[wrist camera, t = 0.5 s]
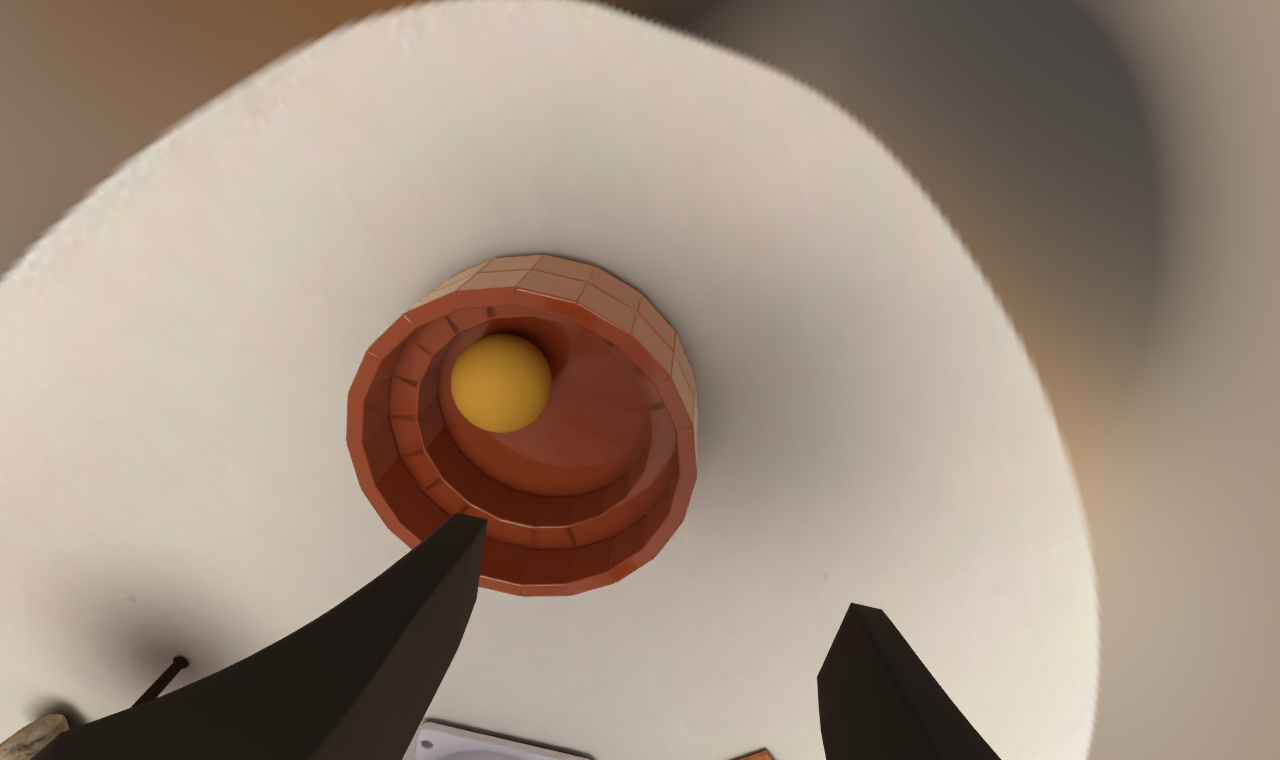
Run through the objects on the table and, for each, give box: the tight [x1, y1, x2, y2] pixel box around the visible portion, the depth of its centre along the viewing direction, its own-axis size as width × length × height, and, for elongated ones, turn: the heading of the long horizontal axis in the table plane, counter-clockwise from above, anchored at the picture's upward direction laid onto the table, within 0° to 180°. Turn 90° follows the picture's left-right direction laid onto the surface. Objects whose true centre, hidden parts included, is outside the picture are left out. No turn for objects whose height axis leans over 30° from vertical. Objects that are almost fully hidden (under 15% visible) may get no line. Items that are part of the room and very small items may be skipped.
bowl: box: [346, 255, 698, 597], centre depth 21 cm, size 10×10×4 cm
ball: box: [451, 334, 552, 433], centre depth 20 cm, size 3×3×3 cm
